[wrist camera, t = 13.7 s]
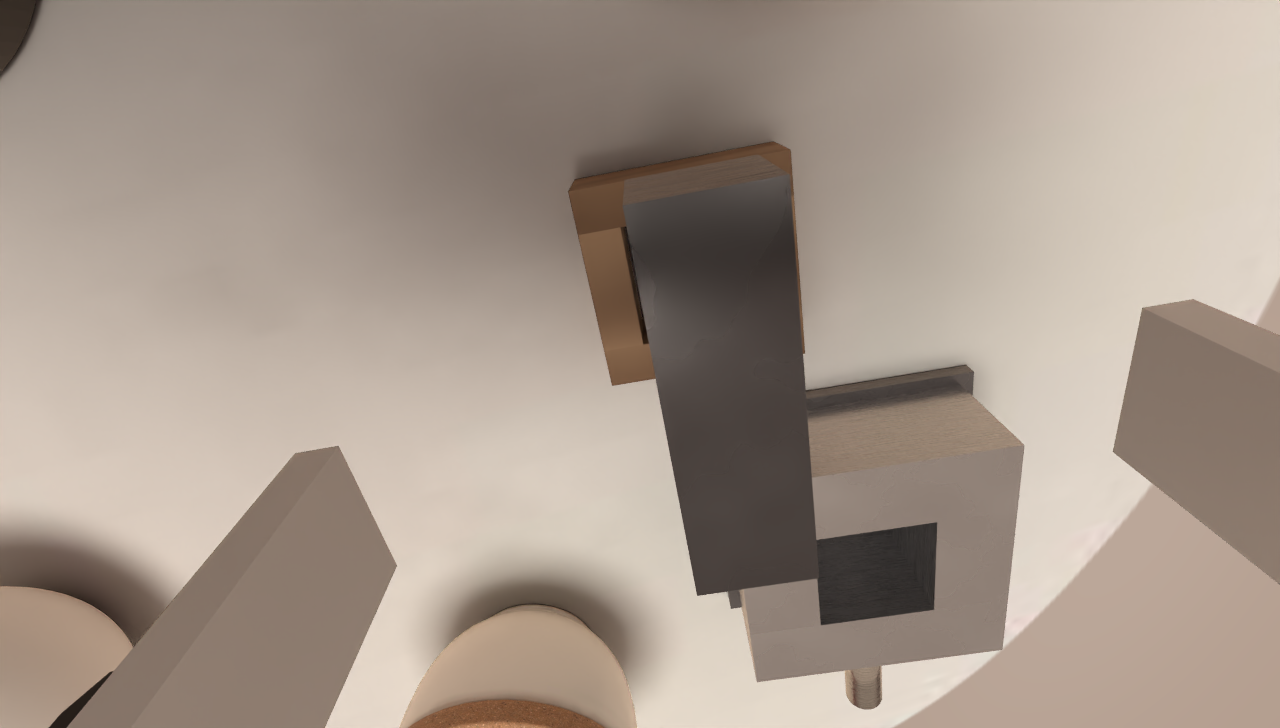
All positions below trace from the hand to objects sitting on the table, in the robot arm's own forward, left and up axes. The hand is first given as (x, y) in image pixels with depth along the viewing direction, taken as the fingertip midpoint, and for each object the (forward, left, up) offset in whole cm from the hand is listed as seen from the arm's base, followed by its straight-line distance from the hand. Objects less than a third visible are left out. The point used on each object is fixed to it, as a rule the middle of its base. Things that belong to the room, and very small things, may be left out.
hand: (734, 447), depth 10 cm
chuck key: (0, 0, -14) cm, 13 cm away
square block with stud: (+14, +5, -13) cm, 20 cm away
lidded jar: (+19, -10, -14) cm, 26 cm away
